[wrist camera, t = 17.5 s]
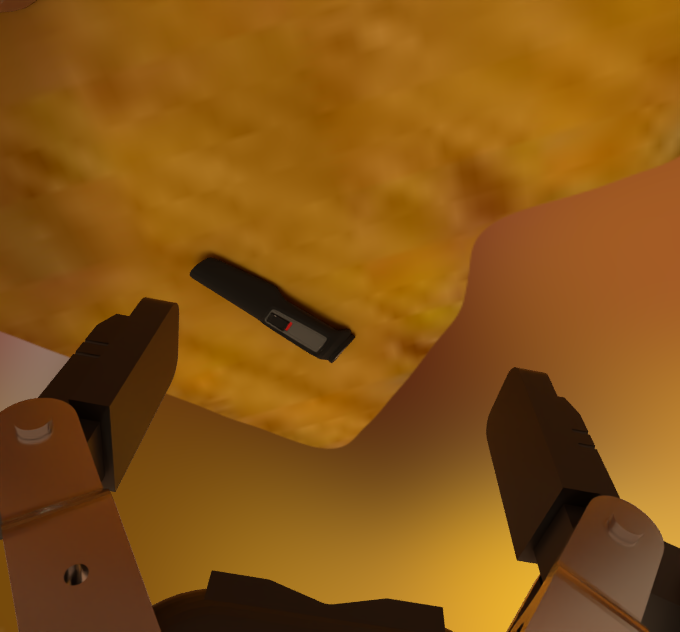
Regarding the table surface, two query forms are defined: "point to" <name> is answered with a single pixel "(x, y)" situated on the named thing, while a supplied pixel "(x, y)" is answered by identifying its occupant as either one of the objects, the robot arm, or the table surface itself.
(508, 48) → the table surface
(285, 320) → the electric trimmer
